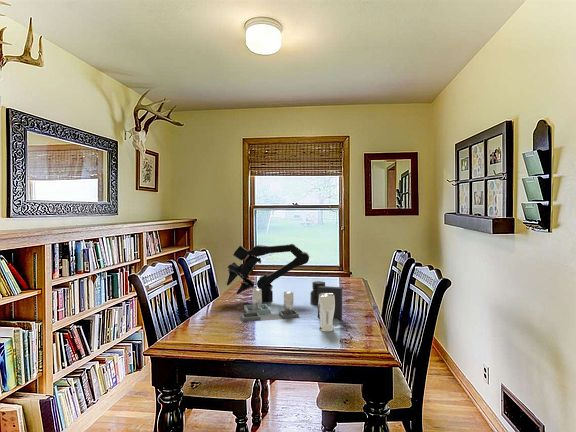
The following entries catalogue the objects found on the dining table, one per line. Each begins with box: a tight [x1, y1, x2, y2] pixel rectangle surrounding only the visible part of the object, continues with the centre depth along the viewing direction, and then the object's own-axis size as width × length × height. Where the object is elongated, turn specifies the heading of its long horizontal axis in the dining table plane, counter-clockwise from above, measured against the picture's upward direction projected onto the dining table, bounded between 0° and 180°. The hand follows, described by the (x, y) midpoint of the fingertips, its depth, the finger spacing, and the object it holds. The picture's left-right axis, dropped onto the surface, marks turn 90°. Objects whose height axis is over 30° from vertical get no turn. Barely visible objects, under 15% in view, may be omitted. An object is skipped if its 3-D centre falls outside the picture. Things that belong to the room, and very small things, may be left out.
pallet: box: [239, 309, 301, 323], centre depth 190 cm, size 27×10×2 cm, turn 104°
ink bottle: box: [309, 280, 326, 306], centre depth 218 cm, size 10×9×12 cm
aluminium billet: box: [251, 287, 263, 310], centre depth 201 cm, size 4×4×11 cm
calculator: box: [317, 285, 343, 322], centre depth 190 cm, size 11×4×15 cm, turn 71°
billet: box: [283, 290, 294, 315], centre depth 193 cm, size 4×4×11 cm
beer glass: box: [317, 293, 335, 333], centre depth 174 cm, size 7×7×15 cm
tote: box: [243, 303, 272, 315], centre depth 201 cm, size 11×11×3 cm
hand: (232, 289), depth 217 cm, fingers open, 9 cm apart
